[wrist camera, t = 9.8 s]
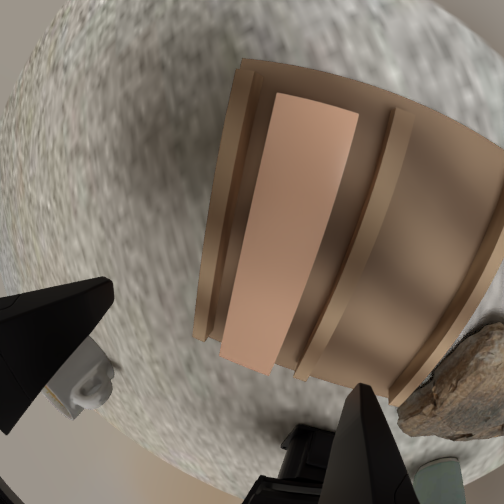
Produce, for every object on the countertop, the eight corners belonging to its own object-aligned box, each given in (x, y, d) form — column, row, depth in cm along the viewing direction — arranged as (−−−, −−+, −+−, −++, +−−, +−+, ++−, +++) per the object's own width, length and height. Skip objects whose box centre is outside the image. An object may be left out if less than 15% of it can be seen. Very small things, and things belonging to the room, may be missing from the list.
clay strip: (280, 347, 20) (268, 376, 17) (235, 329, 20) (218, 356, 18) (356, 119, 12) (359, 113, 10) (290, 101, 13) (276, 92, 11)
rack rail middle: (309, 366, 20) (305, 381, 18) (297, 362, 20) (293, 377, 18) (408, 117, 11) (415, 115, 10) (391, 110, 12) (396, 107, 10)
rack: (396, 391, 19) (396, 400, 18) (200, 324, 23) (195, 331, 22) (518, 164, 10) (526, 166, 9) (248, 62, 14) (242, 58, 13)
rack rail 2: (398, 392, 18) (398, 407, 17) (388, 389, 18) (388, 404, 17) (517, 177, 10) (531, 182, 8) (507, 170, 10) (520, 174, 9)
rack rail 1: (213, 329, 21) (204, 342, 20) (202, 324, 21) (192, 336, 20) (263, 77, 13) (254, 71, 12) (246, 74, 13) (236, 68, 12)
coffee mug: (78, 360, 38) (42, 395, 29) (61, 316, 33) (15, 352, 25) (138, 398, 34) (100, 444, 26) (124, 355, 30) (74, 407, 21)
